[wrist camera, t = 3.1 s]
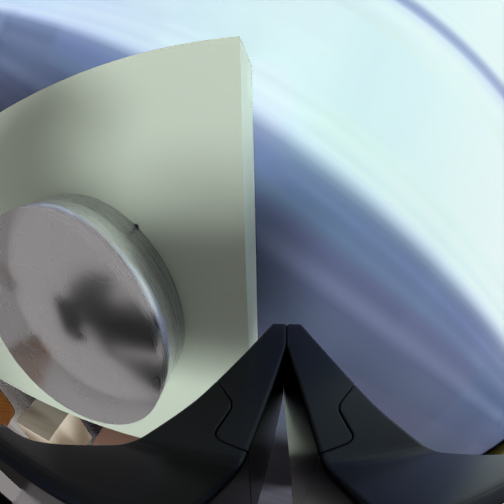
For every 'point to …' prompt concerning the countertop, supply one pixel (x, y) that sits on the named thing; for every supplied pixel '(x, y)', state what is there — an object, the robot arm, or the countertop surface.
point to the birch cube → (52, 425)
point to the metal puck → (88, 307)
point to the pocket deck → (155, 190)
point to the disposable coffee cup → (5, 410)
